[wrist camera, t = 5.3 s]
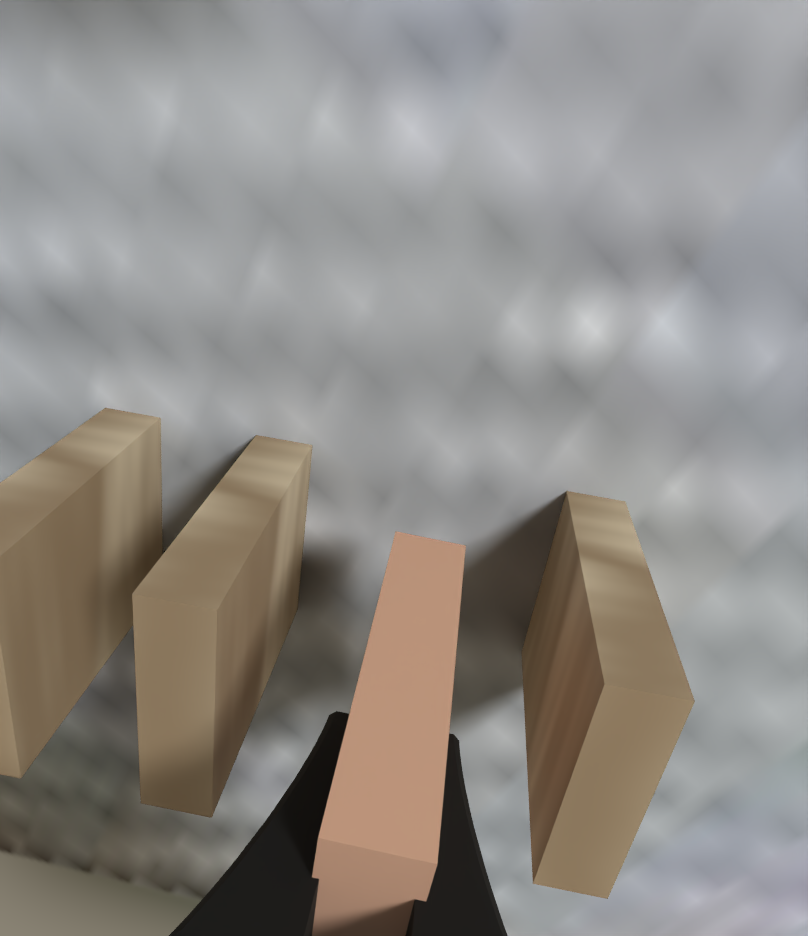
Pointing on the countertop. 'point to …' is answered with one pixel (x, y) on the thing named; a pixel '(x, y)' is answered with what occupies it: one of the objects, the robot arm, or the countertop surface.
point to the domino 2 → (393, 750)
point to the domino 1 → (72, 569)
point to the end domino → (596, 698)
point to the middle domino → (217, 624)
